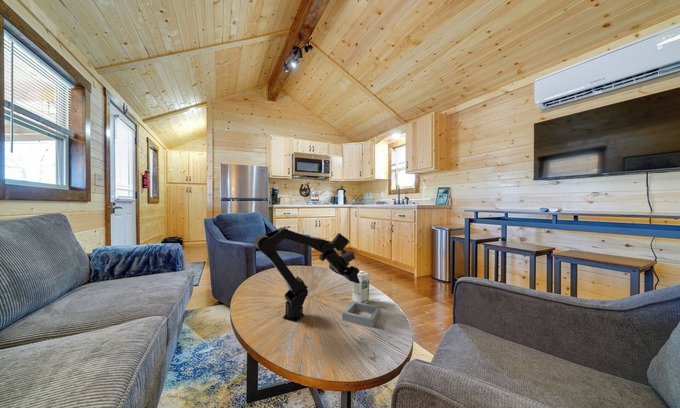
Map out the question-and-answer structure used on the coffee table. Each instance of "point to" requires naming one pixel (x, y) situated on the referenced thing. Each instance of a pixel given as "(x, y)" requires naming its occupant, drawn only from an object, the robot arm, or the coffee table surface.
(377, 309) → the socket board
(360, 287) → the syrup box
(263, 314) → the coffee table surface
